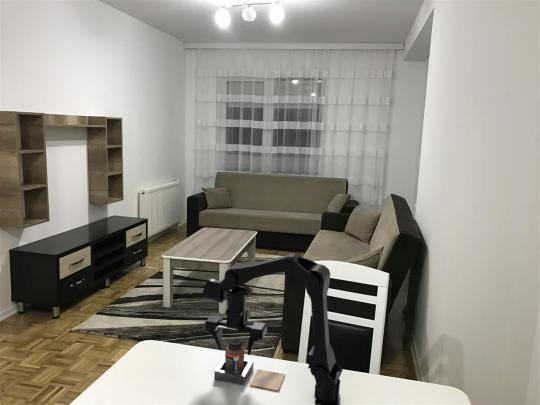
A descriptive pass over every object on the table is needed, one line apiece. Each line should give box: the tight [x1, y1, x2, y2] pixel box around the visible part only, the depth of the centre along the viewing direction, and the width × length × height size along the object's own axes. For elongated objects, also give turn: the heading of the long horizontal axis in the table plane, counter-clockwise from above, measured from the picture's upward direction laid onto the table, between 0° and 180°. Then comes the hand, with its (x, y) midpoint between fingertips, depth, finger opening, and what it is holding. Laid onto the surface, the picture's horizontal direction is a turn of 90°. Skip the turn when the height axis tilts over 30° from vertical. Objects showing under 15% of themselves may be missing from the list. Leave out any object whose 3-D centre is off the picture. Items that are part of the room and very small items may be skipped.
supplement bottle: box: [224, 337, 245, 374], centre depth 142 cm, size 6×6×11 cm
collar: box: [213, 356, 254, 386], centre depth 143 cm, size 10×10×3 cm
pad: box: [249, 369, 286, 392], centre depth 140 cm, size 9×9×1 cm
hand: (235, 352), depth 142 cm, fingers open, 9 cm apart
